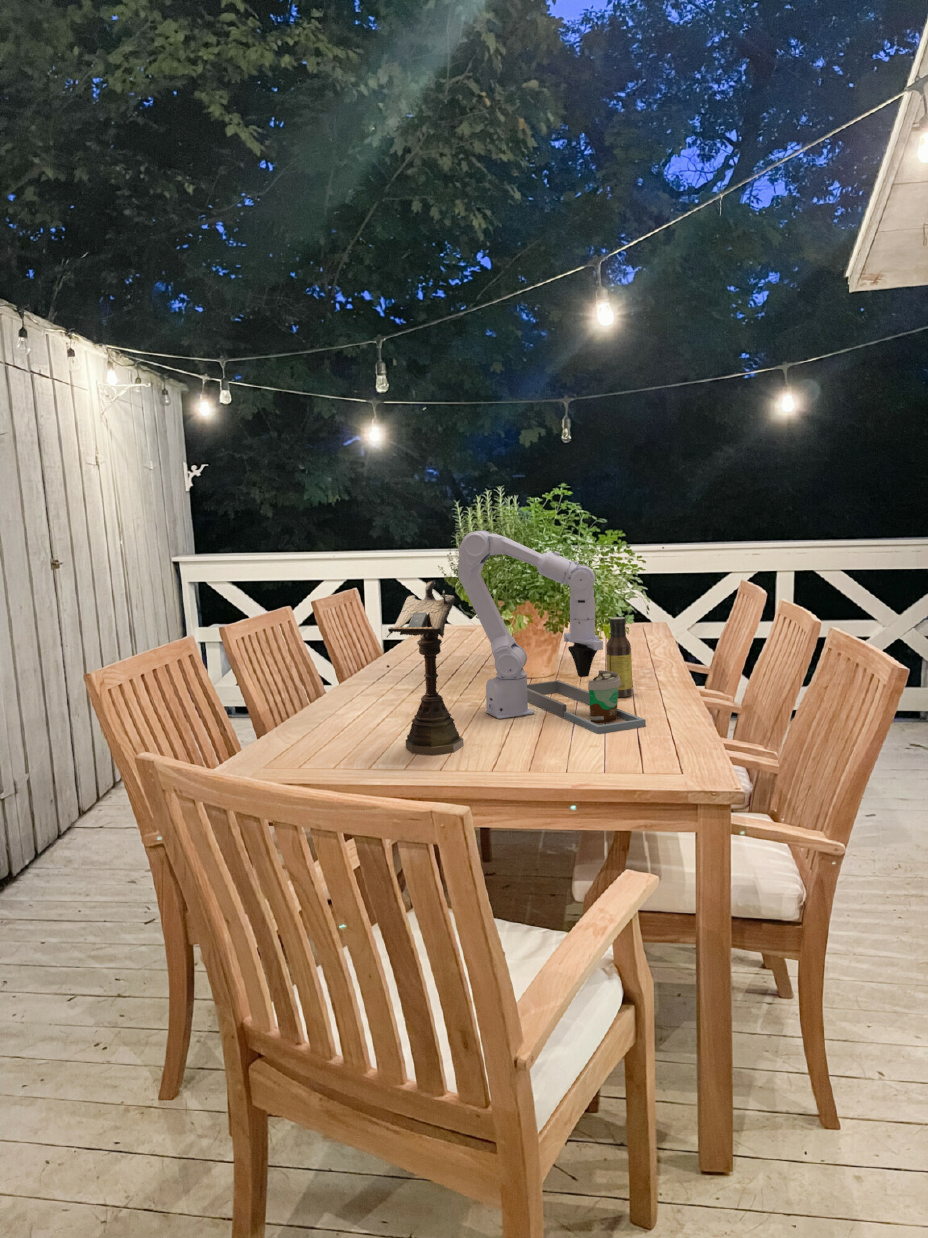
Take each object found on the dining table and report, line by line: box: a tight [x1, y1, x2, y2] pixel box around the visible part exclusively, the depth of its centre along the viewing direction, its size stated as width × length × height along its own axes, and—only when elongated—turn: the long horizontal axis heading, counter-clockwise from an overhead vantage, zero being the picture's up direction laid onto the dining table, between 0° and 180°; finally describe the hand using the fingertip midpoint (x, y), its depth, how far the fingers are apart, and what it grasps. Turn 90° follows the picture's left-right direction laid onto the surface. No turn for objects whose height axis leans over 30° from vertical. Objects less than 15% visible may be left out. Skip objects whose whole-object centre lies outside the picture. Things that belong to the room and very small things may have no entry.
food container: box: [587, 669, 621, 725], centre depth 188 cm, size 12×6×10 cm, turn 159°
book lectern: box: [386, 579, 465, 756], centre depth 168 cm, size 17×13×35 cm
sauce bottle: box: [605, 616, 634, 698], centre depth 209 cm, size 6×6×20 cm
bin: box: [527, 679, 590, 719], centre depth 204 cm, size 12×24×3 cm, turn 22°
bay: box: [563, 708, 647, 735], centre depth 186 cm, size 12×15×2 cm
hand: (583, 676), depth 193 cm, fingers closed
